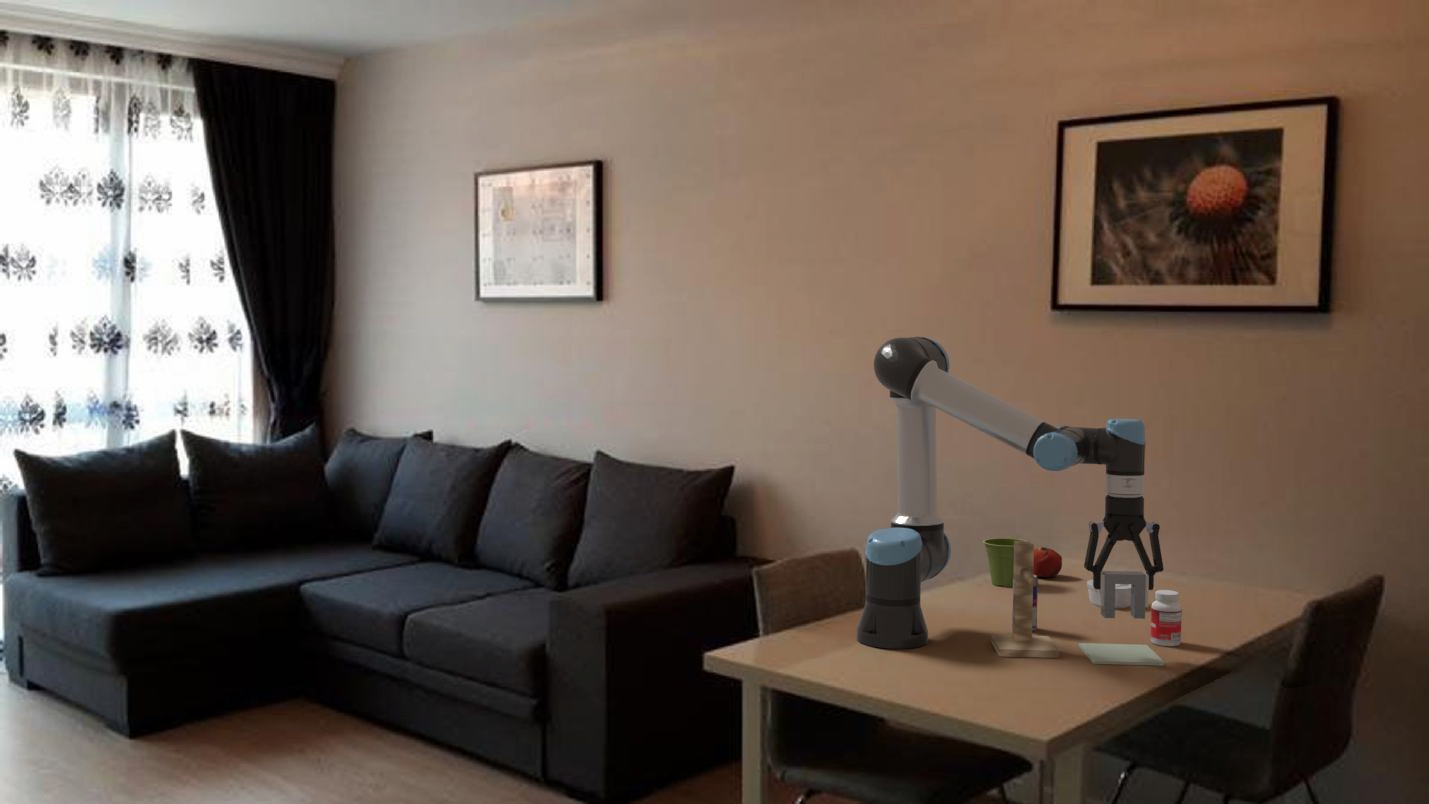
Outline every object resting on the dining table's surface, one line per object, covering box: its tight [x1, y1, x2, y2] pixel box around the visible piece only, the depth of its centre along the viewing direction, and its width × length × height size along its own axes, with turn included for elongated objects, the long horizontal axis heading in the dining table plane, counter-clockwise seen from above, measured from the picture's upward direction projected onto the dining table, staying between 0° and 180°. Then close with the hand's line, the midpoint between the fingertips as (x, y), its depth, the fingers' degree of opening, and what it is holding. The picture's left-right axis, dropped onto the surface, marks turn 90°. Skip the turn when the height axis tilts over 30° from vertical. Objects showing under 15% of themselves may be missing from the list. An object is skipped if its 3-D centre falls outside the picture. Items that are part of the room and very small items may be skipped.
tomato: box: [1033, 546, 1063, 578], centre depth 341 cm, size 9×9×8 cm
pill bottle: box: [1150, 589, 1183, 648], centre depth 271 cm, size 6×6×11 cm
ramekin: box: [1086, 579, 1131, 609], centre depth 308 cm, size 11×11×5 cm
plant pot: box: [982, 537, 1027, 587], centre depth 331 cm, size 12×12×11 cm
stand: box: [990, 540, 1060, 659], centre depth 264 cm, size 12×15×22 cm
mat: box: [1078, 642, 1166, 666], centre depth 262 cm, size 14×14×1 cm
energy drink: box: [1011, 574, 1039, 632], centre depth 283 cm, size 5×5×12 cm
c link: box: [1100, 570, 1146, 620], centre depth 261 cm, size 8×4×9 cm, turn 86°
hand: (1122, 605), depth 261 cm, fingers closed on c link, 8 cm apart
